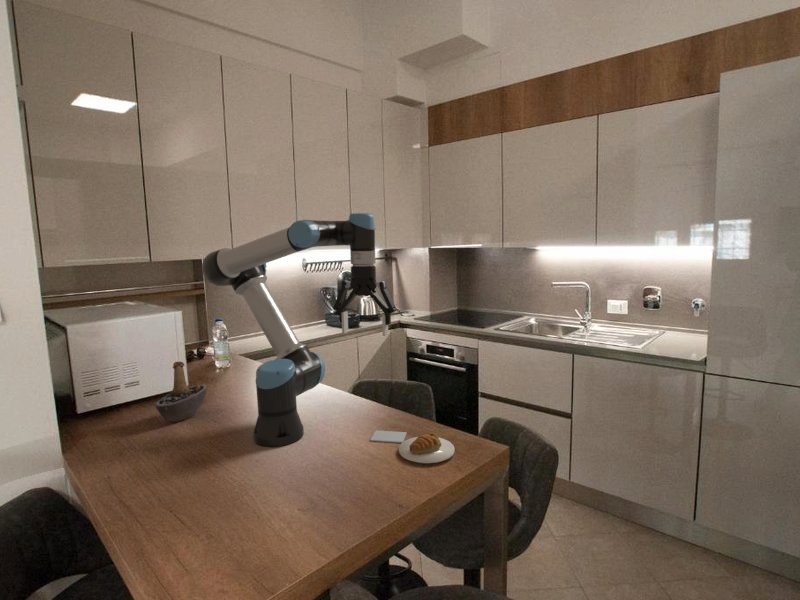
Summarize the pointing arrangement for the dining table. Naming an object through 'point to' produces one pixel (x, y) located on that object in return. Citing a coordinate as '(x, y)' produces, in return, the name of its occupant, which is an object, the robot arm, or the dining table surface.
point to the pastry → (425, 444)
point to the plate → (432, 457)
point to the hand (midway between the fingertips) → (365, 334)
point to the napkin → (388, 436)
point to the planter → (181, 397)
